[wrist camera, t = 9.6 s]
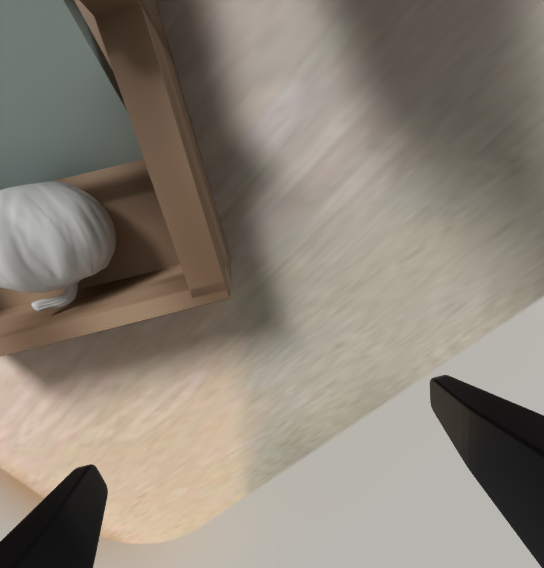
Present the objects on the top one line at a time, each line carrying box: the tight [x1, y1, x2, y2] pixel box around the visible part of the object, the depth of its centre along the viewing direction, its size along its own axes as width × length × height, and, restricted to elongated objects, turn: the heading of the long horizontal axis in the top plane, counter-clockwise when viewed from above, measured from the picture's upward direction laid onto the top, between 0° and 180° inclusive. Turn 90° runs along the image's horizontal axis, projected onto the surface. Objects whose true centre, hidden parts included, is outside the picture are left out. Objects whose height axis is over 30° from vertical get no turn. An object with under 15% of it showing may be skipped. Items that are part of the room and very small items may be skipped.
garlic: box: [0, 181, 116, 312], centre depth 14 cm, size 6×5×5 cm
